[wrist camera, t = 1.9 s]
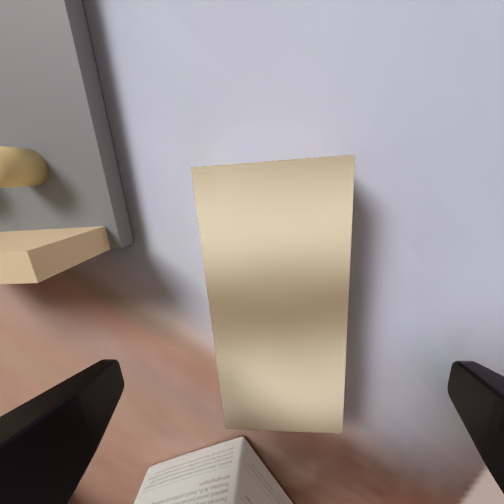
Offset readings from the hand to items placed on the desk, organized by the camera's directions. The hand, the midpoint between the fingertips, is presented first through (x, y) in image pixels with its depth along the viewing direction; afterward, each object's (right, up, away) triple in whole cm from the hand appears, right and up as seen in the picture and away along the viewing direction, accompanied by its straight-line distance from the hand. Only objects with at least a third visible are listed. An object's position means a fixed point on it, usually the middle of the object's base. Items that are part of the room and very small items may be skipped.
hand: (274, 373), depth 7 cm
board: (+1, +2, +5) cm, 6 cm away
